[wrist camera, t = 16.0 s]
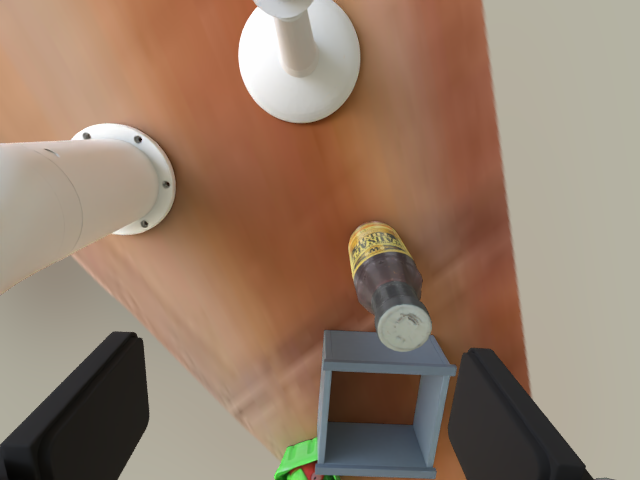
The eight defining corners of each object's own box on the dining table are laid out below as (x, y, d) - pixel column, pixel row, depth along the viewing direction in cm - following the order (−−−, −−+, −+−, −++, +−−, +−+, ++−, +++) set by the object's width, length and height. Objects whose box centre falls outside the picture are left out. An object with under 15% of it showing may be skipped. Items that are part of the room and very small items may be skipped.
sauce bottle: (387, 210, 44) (442, 272, 25) (404, 255, 46) (467, 345, 27) (336, 230, 45) (353, 306, 26) (355, 275, 47) (383, 375, 28)
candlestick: (380, 83, 40) (547, -31, 12) (281, 145, 42) (211, 180, 13) (320, -36, 37) (345, -604, 8) (215, 36, 39) (-66, -227, 10)
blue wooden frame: (315, 427, 53) (315, 474, 46) (322, 326, 49) (323, 361, 42) (419, 431, 54) (435, 479, 47) (436, 332, 49) (457, 367, 42)
